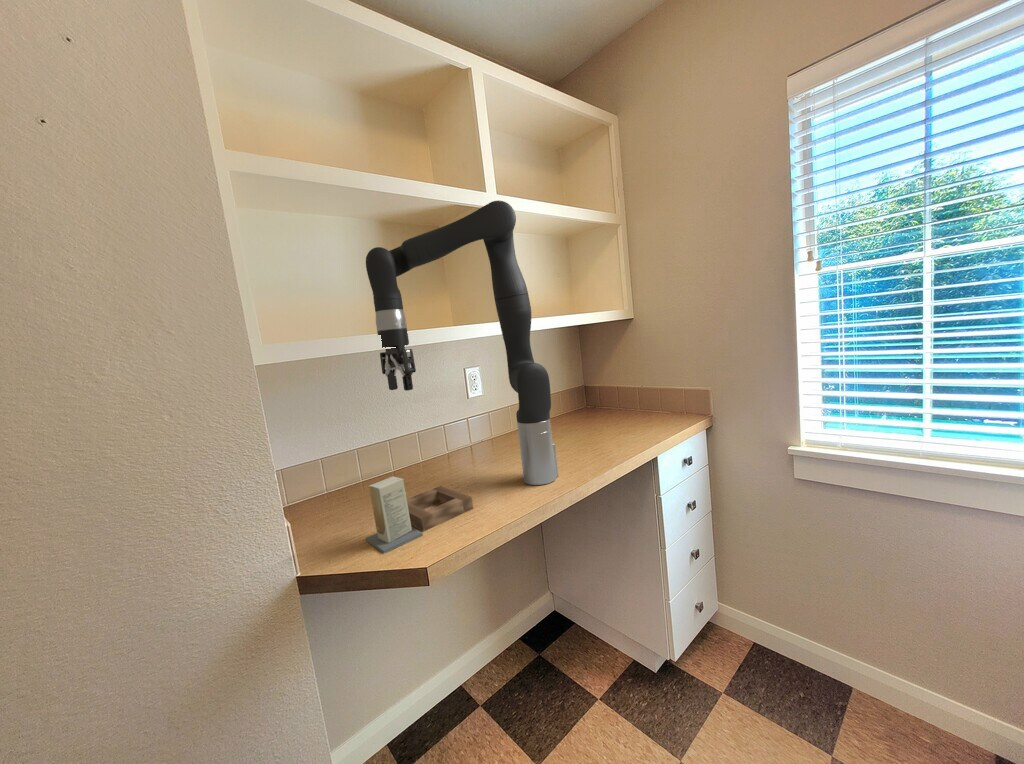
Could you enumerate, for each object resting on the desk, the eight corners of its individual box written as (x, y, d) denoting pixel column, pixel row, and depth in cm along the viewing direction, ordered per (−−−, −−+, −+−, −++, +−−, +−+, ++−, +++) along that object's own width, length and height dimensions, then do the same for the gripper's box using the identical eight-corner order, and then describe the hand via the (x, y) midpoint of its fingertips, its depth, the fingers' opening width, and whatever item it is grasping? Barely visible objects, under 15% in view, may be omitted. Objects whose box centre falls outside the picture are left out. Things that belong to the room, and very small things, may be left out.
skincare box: (401, 526, 92) (394, 475, 90) (412, 531, 89) (404, 478, 87) (376, 539, 87) (367, 485, 86) (386, 544, 84) (378, 488, 83)
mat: (403, 524, 94) (402, 521, 94) (422, 535, 88) (422, 532, 87) (366, 540, 88) (365, 537, 88) (384, 553, 82) (383, 550, 81)
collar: (442, 496, 109) (440, 485, 109) (473, 508, 99) (471, 496, 98) (394, 515, 100) (392, 504, 99) (423, 531, 89) (421, 518, 89)
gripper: (418, 324, 102) (427, 388, 103) (392, 330, 112) (401, 387, 114) (391, 326, 96) (400, 393, 98) (366, 332, 107) (375, 391, 109)
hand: (400, 389), depth 106 cm, fingers open, 8 cm apart
